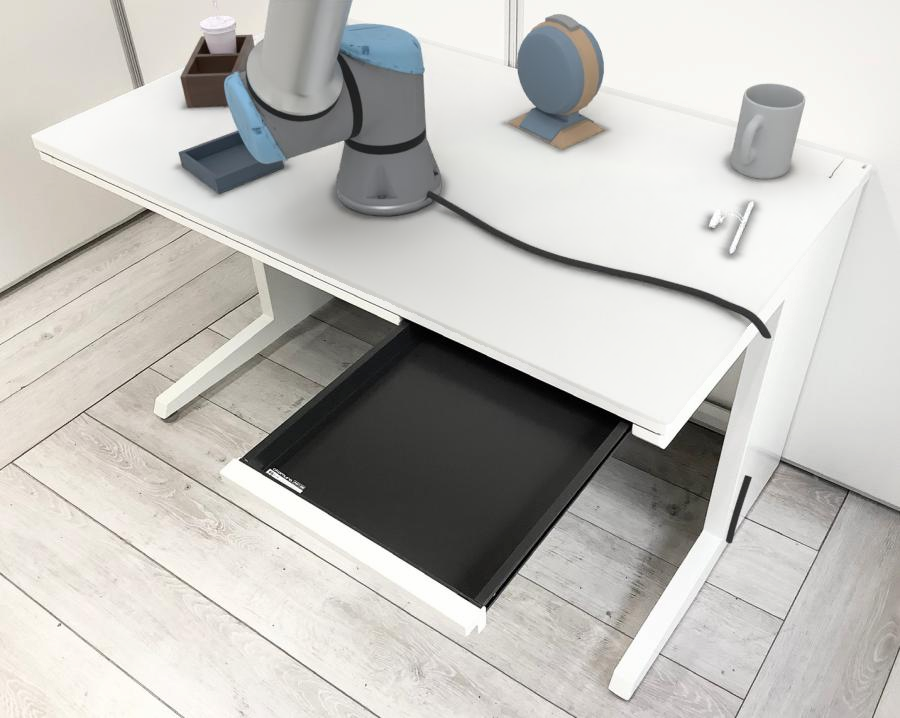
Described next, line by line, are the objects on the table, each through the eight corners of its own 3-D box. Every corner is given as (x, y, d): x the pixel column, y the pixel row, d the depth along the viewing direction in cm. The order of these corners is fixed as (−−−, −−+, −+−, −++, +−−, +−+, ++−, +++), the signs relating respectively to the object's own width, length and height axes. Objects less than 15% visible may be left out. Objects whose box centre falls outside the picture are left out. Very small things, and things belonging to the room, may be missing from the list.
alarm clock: (609, 132, 142) (620, 21, 131) (566, 152, 138) (573, 39, 126) (547, 103, 151) (552, -3, 139) (504, 121, 146) (505, 12, 135)
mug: (745, 146, 138) (759, 77, 130) (798, 162, 133) (816, 92, 126) (709, 177, 131) (722, 107, 123) (764, 195, 126) (780, 123, 119)
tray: (284, 167, 136) (281, 153, 135) (218, 194, 131) (215, 179, 129) (245, 142, 143) (242, 128, 141) (181, 166, 138) (178, 152, 136)
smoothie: (249, 67, 166) (235, -10, 156) (240, 82, 161) (225, 3, 152) (216, 67, 166) (200, -10, 157) (205, 81, 161) (188, 3, 152)
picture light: (733, 256, 115) (736, 242, 114) (699, 249, 117) (702, 235, 115) (754, 204, 125) (757, 191, 123) (723, 198, 126) (725, 185, 125)
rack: (241, 105, 153) (236, 74, 150) (187, 107, 154) (179, 76, 150) (257, 63, 167) (252, 34, 163) (207, 65, 167) (200, 36, 164)
